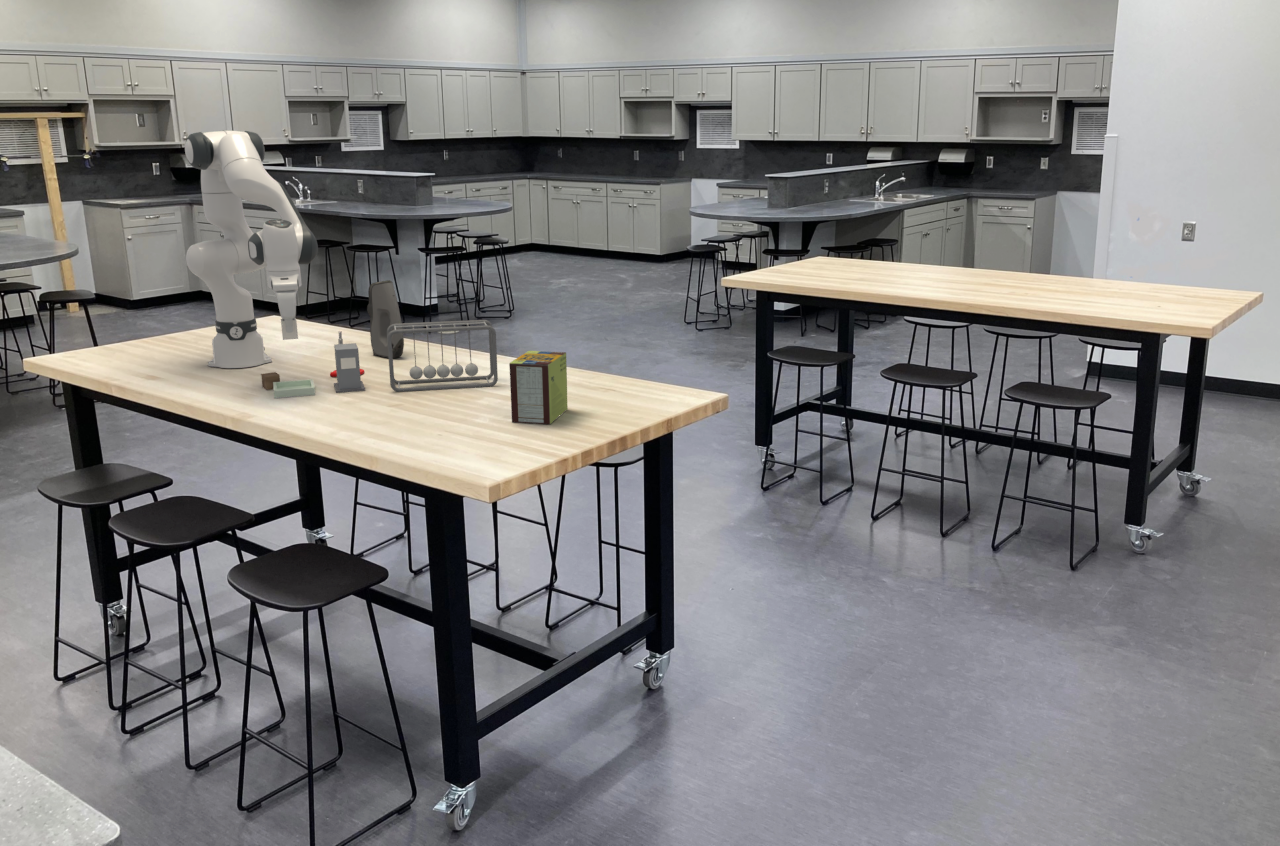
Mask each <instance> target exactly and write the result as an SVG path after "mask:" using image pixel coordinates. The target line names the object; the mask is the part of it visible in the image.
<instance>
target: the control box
mask: <svg viewBox="0 0 1280 846" xmlns="http://www.w3.org/2000/svg"><path fill="white" fill-rule="evenodd" d="M333 347H334V359H335V360H334V361H335V370H336V372H337V377H336V381H337V382H333V386H334V387H333V388H334V391H335V393H336V394H338V393H339V394H340V393H341V394H342V393H352V392H354V393H355V392H365V391H366V387H365V385H364V382H363V380H361V379H362V378H361V375H360V369H361V368H360V367H361V366H360V357H359V356H360V355H359V347H358V345H357V343H356V342H355V343H354V342H353V343H352V342H351V343H343V344H337V343H336V344H334V345H333Z"/></svg>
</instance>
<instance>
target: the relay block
mask: <svg viewBox="0 0 1280 846" xmlns="http://www.w3.org/2000/svg"><path fill="white" fill-rule="evenodd" d="M280 325H281V333H282V335H281V337H282V341H285V340H297V339H298V340H299V332H298V324H297V318H296V317H295V318H294V319H293V332H290V333H287V332H286V326H285V321H284V319H282V318H280Z"/></svg>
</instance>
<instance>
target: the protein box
mask: <svg viewBox="0 0 1280 846" xmlns="http://www.w3.org/2000/svg"><path fill="white" fill-rule="evenodd" d="M567 370H568V369H567V352H564V351H543V350H541V351H540V350H527V351H526V352H524V353H523V354H521V355H519V356H518V357H517V358H516V359H513V360H512V361H510V362H509V382H510V383H509V384H510V408H511V423H516V424H517V423H518V424H519V423H520V424H533V423H536V424H535V425H537V424H538V425H551V424H552V423H554V422H555V421H556V420H557V419H558V418H559V417H560V416H559V415H561V414H562V413H563V412H564V411H565V410H566V411H567V410H568V408H569V407H568V374H567V372H568V371H567ZM566 411H565V412H566ZM565 412H564V413H565ZM564 413H563V414H564ZM563 414H562V415H563ZM562 415H561V416H562ZM558 416H559V417H558ZM557 417H558V418H557ZM556 418H557V419H556ZM555 419H556V420H555ZM554 420H555V421H554ZM553 421H554V422H553Z"/></svg>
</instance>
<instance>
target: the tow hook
mask: <svg viewBox="0 0 1280 846" xmlns="http://www.w3.org/2000/svg"><path fill="white" fill-rule="evenodd" d="M337 340H338V342H337V343H338V344H344V340H343V337H342V331H341V330H339V331H338V339H337ZM364 374H365V369H363V368H360V376H361V375H364ZM329 376H330V377H331V378H337V372H336V369H335V370H333V371H330V373H329Z"/></svg>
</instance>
